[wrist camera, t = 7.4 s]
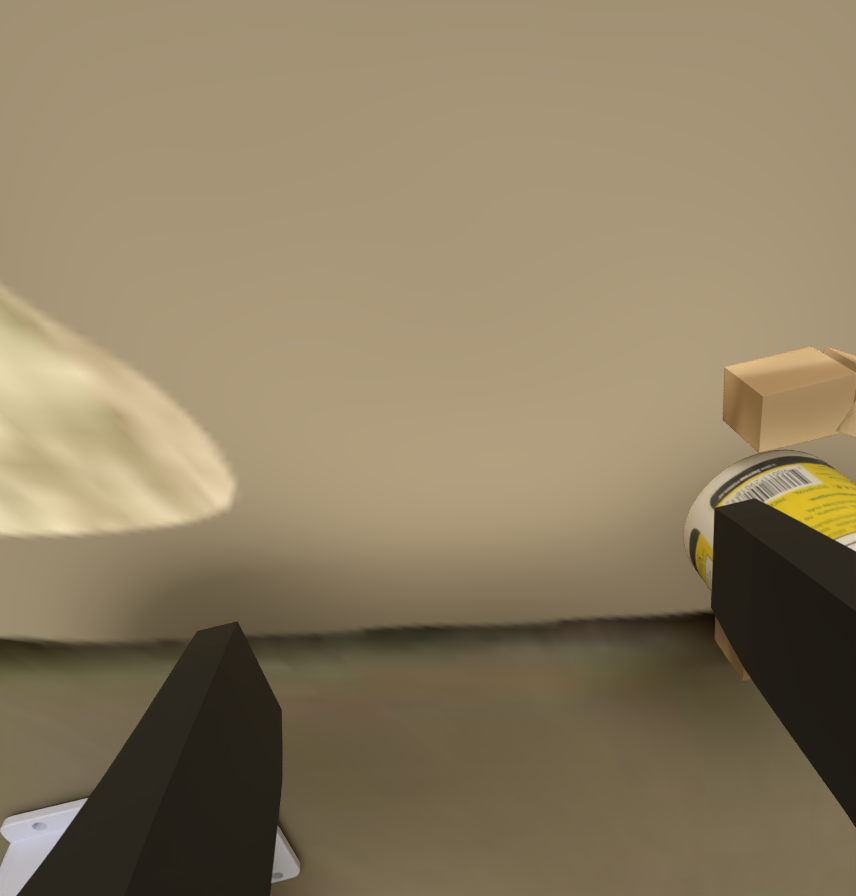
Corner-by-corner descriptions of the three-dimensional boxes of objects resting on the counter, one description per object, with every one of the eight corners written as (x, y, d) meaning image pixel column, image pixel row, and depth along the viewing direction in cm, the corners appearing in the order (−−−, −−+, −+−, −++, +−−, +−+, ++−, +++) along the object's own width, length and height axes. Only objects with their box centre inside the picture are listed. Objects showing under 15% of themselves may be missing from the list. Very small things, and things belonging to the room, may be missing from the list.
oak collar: (714, 639, 25) (742, 681, 23) (724, 367, 19) (762, 396, 17) (894, 596, 25) (935, 635, 23) (961, 310, 19) (1022, 334, 17)
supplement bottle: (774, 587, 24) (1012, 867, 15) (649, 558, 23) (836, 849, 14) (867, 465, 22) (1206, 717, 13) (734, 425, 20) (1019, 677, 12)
